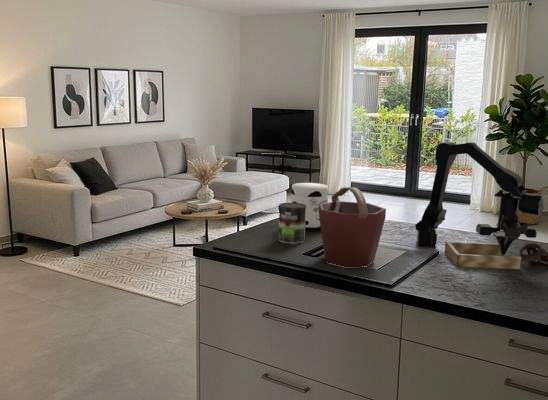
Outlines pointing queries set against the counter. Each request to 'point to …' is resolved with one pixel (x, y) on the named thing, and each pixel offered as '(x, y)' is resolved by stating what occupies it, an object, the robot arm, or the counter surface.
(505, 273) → the counter surface
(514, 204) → the robot arm
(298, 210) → the coffee can
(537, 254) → the pottery mug
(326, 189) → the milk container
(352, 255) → the bucket
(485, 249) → the wooden frame
